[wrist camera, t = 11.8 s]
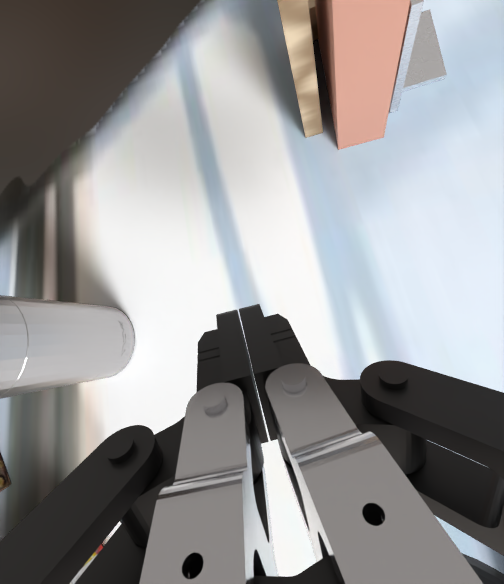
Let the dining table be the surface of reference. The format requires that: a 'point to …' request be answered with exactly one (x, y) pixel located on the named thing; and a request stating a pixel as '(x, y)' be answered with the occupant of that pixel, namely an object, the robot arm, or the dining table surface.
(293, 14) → the board
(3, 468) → the book
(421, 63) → the bookend
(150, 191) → the dining table surface
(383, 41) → the book
